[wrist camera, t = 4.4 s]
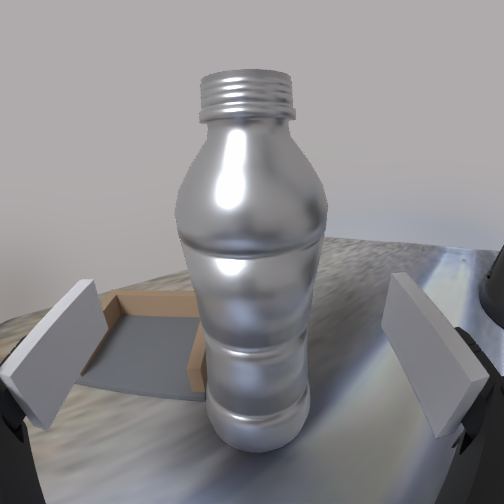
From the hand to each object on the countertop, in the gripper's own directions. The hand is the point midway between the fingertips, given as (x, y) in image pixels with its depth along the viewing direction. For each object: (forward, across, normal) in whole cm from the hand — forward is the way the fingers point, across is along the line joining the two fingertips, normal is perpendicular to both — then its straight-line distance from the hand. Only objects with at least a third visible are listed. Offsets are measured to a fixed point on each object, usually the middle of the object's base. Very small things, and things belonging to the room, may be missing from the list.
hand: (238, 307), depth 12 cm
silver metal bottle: (+2, +1, -11) cm, 11 cm away
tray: (+10, -9, -11) cm, 17 cm away
